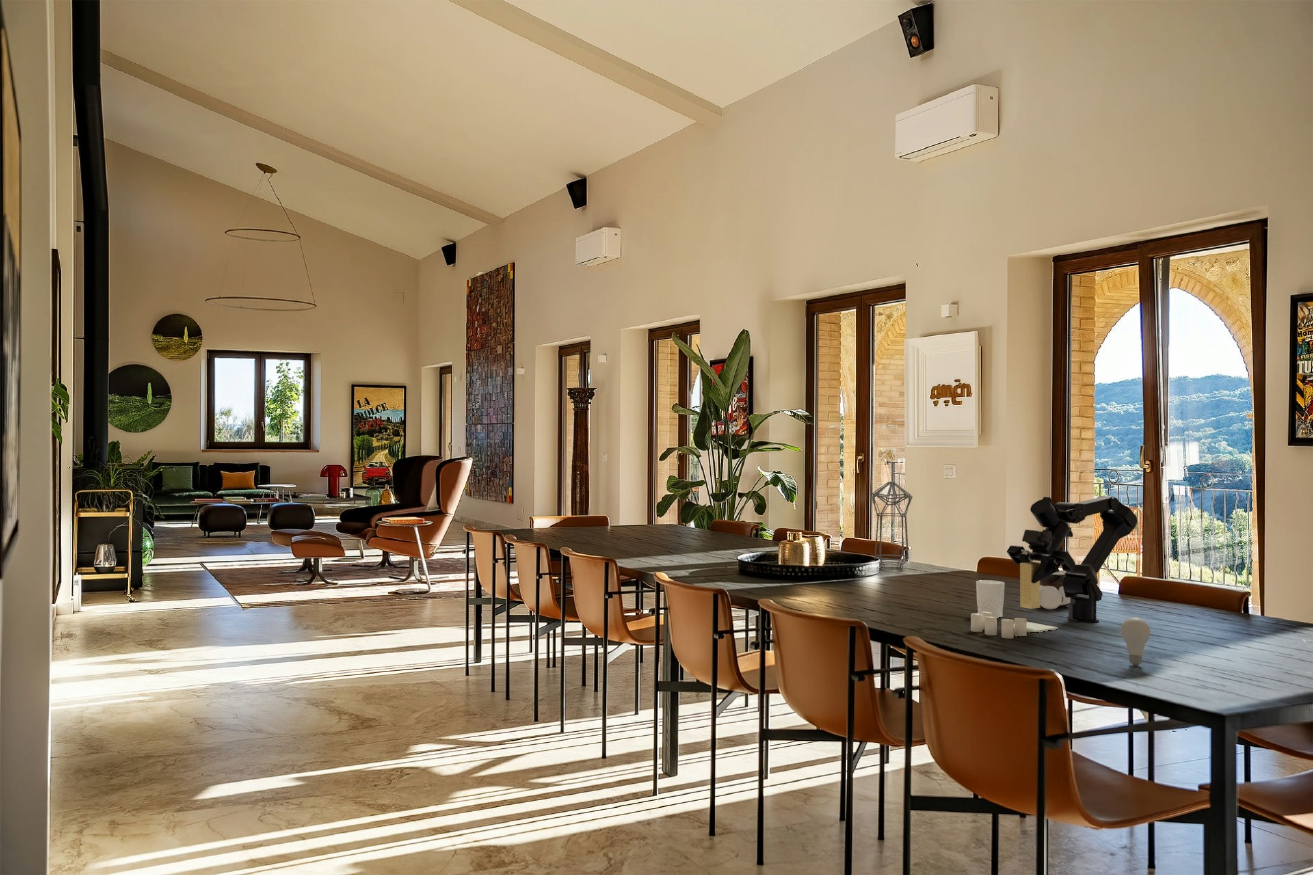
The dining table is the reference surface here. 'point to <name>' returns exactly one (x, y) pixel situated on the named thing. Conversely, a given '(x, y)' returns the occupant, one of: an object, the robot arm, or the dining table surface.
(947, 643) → the dining table surface
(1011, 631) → the spacers
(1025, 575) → the brass post
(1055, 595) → the spread jar
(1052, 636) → the dining table surface
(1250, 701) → the dining table surface
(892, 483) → the geometric lantern
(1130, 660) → the lightbulb
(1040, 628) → the mat
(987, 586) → the white cup
